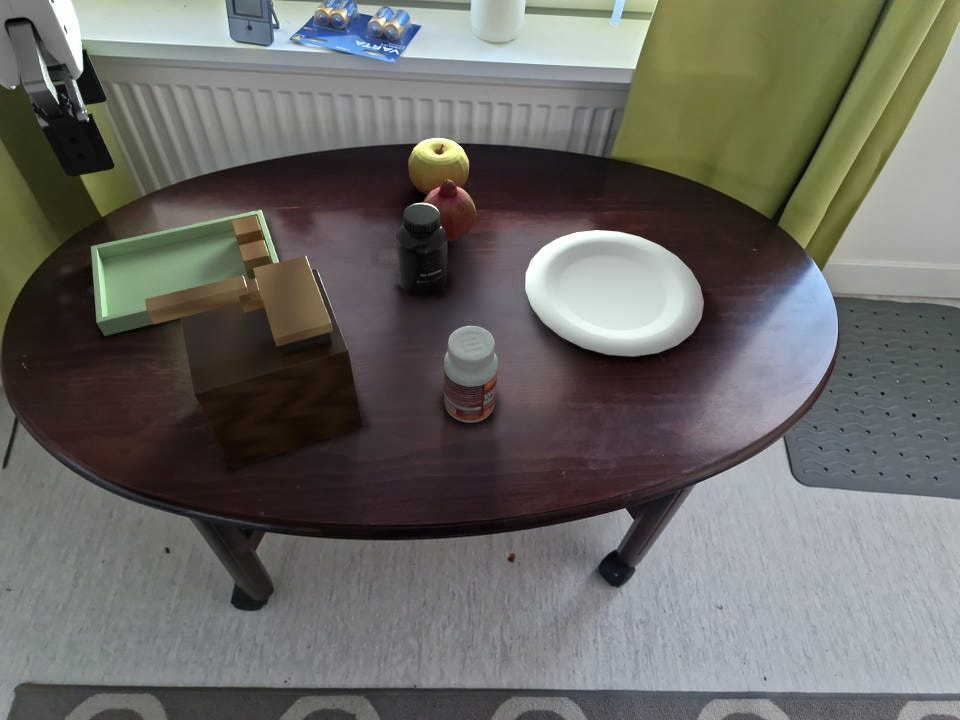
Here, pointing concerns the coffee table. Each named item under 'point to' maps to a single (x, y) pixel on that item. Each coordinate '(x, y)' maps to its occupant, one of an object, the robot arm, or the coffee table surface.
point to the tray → (164, 267)
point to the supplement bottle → (422, 251)
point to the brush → (260, 303)
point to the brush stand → (267, 383)
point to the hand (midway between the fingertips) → (88, 135)
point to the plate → (614, 293)
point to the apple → (437, 164)
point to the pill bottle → (470, 374)
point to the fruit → (453, 209)
